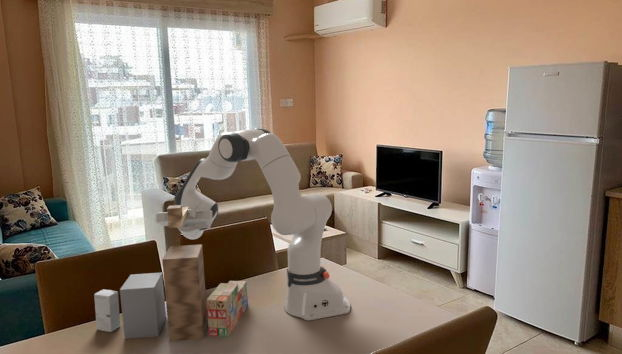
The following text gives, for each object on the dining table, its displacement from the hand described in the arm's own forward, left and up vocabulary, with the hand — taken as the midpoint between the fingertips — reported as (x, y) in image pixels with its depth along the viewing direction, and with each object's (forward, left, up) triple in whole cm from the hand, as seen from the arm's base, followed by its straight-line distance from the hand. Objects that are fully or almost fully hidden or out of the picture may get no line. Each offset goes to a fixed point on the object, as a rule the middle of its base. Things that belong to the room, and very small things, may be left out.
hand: (181, 212), depth 158 cm
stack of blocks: (-16, +19, -33) cm, 41 cm away
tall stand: (-4, +24, -33) cm, 41 cm away
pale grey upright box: (+10, +20, -33) cm, 40 cm away
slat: (0, +5, -2) cm, 5 cm away
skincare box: (+22, +18, -33) cm, 44 cm away
